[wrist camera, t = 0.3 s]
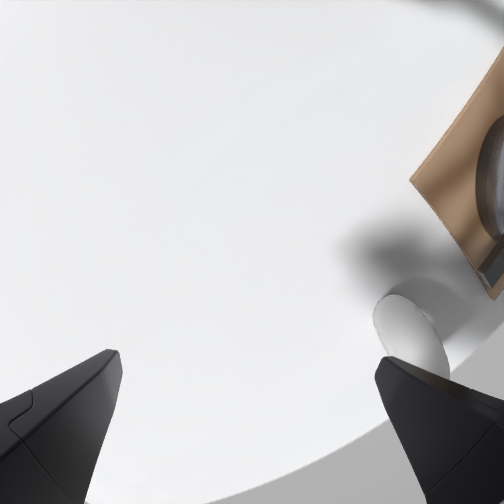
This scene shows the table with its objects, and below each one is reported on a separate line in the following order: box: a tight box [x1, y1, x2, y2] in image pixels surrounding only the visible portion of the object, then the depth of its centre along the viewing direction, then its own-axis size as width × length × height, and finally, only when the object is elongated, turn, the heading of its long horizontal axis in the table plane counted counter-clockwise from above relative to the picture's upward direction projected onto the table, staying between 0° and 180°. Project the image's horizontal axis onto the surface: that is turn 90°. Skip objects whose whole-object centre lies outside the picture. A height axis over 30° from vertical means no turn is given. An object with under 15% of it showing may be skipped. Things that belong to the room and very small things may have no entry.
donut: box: [373, 294, 450, 380], centre depth 23 cm, size 10×4×10 cm, turn 31°
